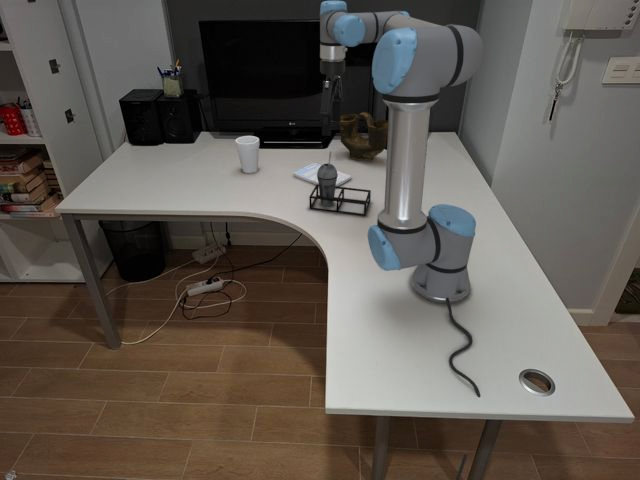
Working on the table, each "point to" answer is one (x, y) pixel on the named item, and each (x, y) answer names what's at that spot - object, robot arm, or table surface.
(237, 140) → the foam cup
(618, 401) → the table surface
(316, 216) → the table surface
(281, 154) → the table surface
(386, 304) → the table surface
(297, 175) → the calculator
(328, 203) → the beverage cup
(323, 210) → the rack
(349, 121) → the pottery vessel
